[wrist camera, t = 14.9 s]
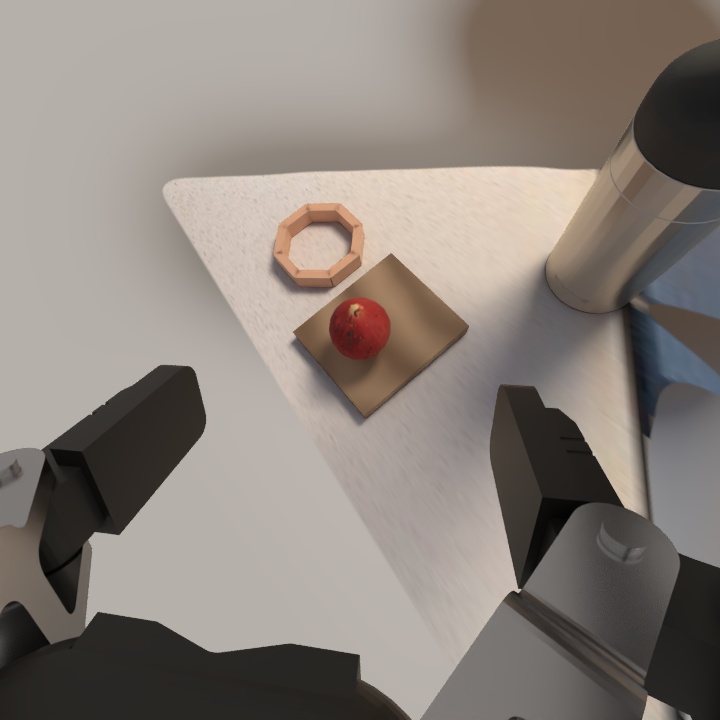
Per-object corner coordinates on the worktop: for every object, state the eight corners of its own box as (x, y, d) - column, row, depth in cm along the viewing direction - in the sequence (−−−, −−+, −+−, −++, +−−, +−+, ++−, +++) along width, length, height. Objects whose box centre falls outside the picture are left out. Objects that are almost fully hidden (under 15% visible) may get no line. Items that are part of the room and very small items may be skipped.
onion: (378, 377, 38) (371, 351, 31) (327, 357, 40) (308, 327, 32) (400, 327, 40) (398, 290, 32) (350, 309, 41) (337, 270, 34)
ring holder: (328, 200, 48) (325, 189, 46) (380, 249, 45) (379, 239, 43) (265, 249, 47) (259, 239, 45) (314, 302, 44) (309, 294, 42)
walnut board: (391, 260, 44) (391, 253, 43) (466, 331, 40) (468, 325, 39) (296, 337, 43) (292, 331, 41) (365, 418, 39) (363, 415, 37)
